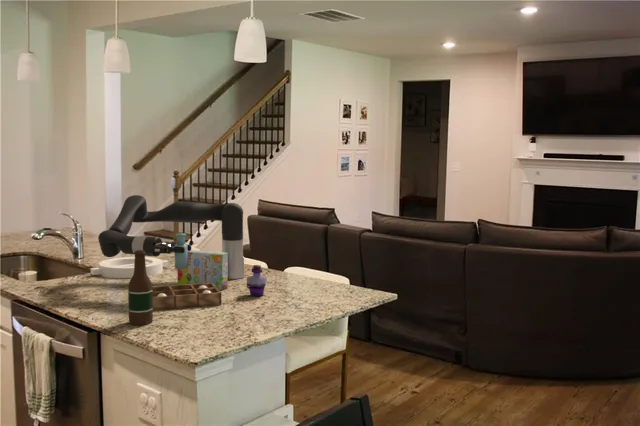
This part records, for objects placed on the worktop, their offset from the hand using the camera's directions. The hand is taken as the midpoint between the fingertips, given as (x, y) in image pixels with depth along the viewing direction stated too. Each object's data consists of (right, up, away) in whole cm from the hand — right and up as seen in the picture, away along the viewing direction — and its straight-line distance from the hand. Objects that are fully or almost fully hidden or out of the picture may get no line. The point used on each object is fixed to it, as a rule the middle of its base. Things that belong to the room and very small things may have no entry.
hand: (187, 248), depth 226 cm
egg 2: (+5, -18, +6) cm, 20 cm away
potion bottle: (+25, -19, +11) cm, 33 cm away
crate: (-1, -20, -1) cm, 20 cm away
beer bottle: (-9, -23, -28) cm, 38 cm away
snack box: (+1, -18, +23) cm, 29 cm away
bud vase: (-3, -7, +1) cm, 8 cm away
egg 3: (+8, -19, -2) cm, 21 cm away
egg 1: (-8, -20, -8) cm, 22 cm away
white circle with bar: (-37, -14, +51) cm, 65 cm away
